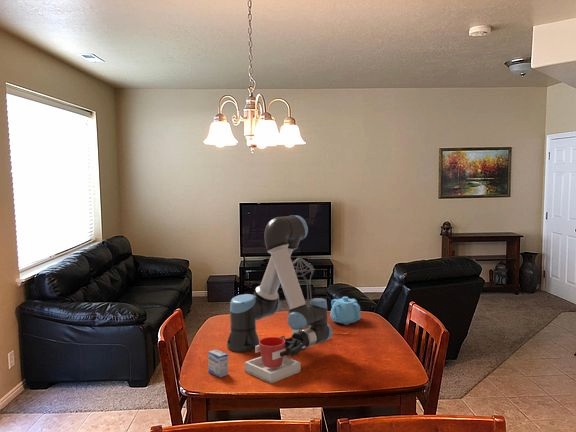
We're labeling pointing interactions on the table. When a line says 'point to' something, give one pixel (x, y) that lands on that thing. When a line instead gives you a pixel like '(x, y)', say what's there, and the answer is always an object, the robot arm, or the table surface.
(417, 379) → the table surface
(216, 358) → the medicine box
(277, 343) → the flower pot
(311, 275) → the geometric lantern
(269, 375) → the white square tray
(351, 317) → the decorative pot
